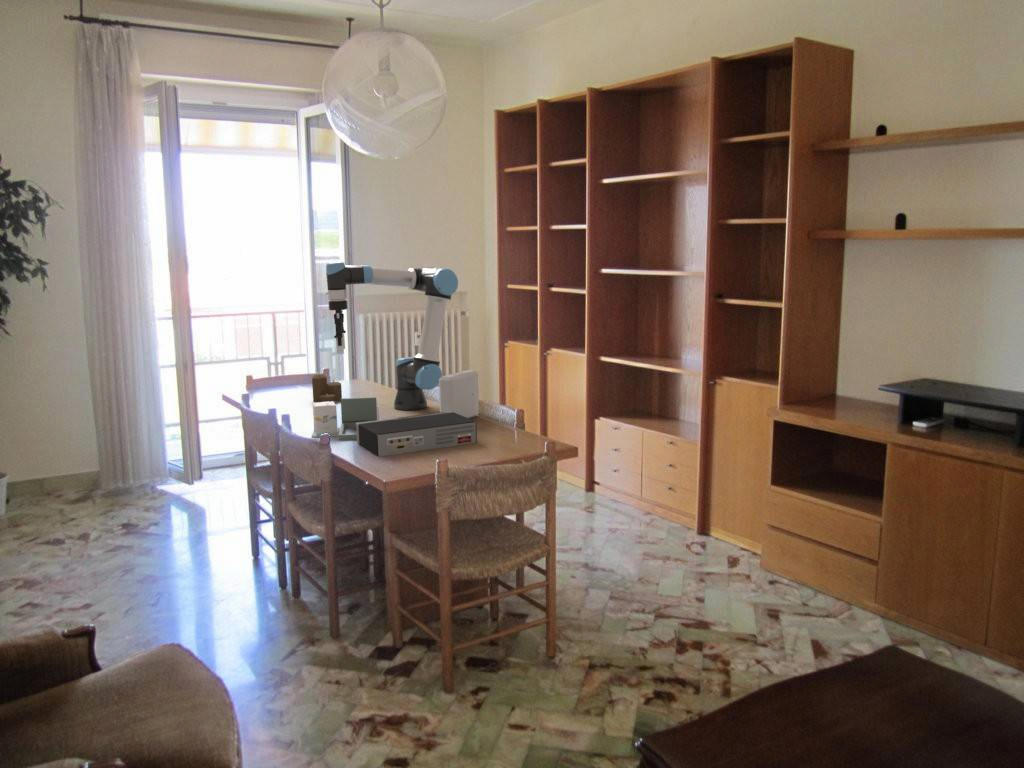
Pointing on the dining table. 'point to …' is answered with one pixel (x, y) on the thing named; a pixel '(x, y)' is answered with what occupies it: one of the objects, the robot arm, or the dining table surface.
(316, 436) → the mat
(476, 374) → the white upright slab
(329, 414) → the ink box
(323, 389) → the brown stepped block
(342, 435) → the grey angled piece
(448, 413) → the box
